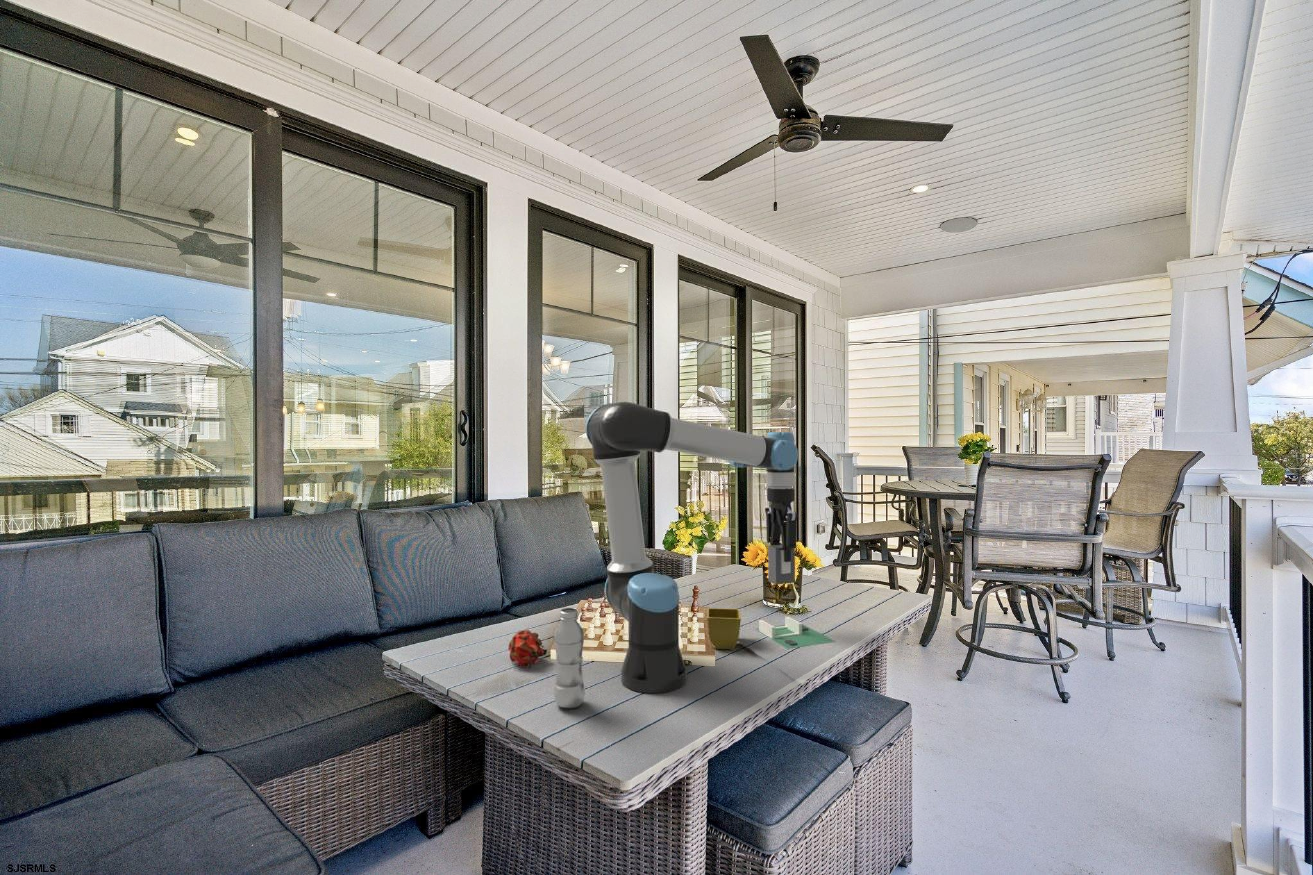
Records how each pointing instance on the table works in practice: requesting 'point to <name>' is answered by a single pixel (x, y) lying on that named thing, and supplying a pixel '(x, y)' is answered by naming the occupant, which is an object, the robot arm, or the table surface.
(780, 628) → the board
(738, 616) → the flower pot
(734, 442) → the robot arm
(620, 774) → the table surface
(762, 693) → the table surface
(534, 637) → the dragon fruit
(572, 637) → the plastic bottle
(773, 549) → the plug
